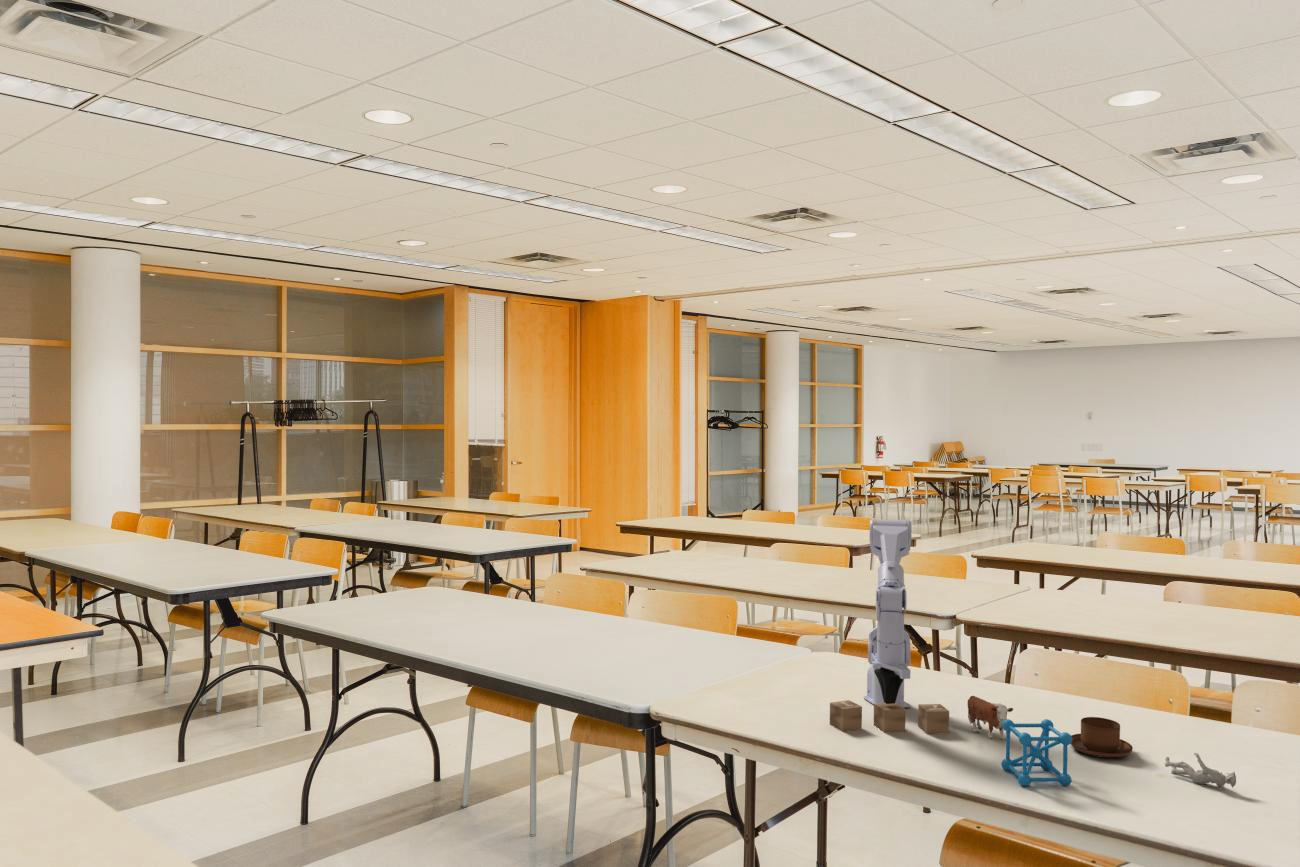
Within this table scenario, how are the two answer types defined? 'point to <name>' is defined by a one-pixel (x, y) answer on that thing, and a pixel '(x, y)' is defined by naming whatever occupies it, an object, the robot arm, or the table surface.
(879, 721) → the plain cube
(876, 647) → the robot arm
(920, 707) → the cube seven
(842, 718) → the cube one
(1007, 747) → the molecular structure
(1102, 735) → the cup and saucer
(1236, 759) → the table surface
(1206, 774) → the soldier figure
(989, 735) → the bull figurine
